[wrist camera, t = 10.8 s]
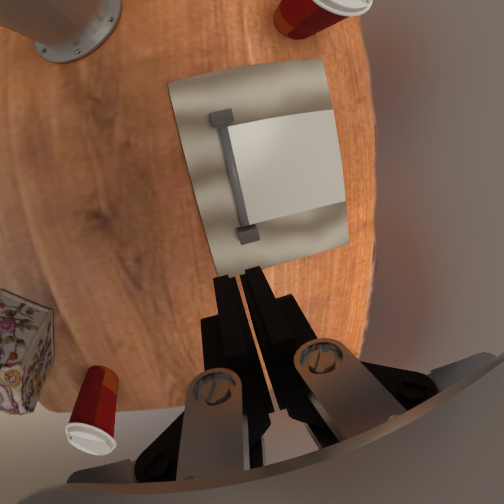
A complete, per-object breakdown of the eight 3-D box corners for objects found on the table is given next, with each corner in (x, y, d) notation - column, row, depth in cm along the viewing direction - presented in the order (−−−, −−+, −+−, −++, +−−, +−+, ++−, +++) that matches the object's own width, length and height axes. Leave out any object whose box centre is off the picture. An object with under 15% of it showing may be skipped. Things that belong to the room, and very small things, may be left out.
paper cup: (330, 18, 28) (389, -17, 16) (306, 57, 30) (363, 27, 18) (280, -11, 26) (321, -62, 13) (253, 27, 28) (286, -22, 15)
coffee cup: (79, 380, 44) (61, 444, 30) (86, 354, 41) (65, 423, 28) (119, 396, 46) (110, 461, 33) (130, 372, 44) (120, 443, 31)
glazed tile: (218, 128, 30) (333, 109, 31) (217, 128, 31) (329, 109, 32) (241, 227, 35) (346, 201, 36) (240, 224, 36) (342, 198, 37)
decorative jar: (5, 337, 37) (-33, 405, 21) (-1, 286, 34) (-56, 354, 17) (57, 359, 41) (28, 437, 25) (56, 309, 37) (12, 393, 21)
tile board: (168, 84, 29) (165, 80, 26) (318, 60, 31) (328, 55, 28) (218, 276, 40) (221, 288, 37) (345, 241, 42) (355, 249, 39)
